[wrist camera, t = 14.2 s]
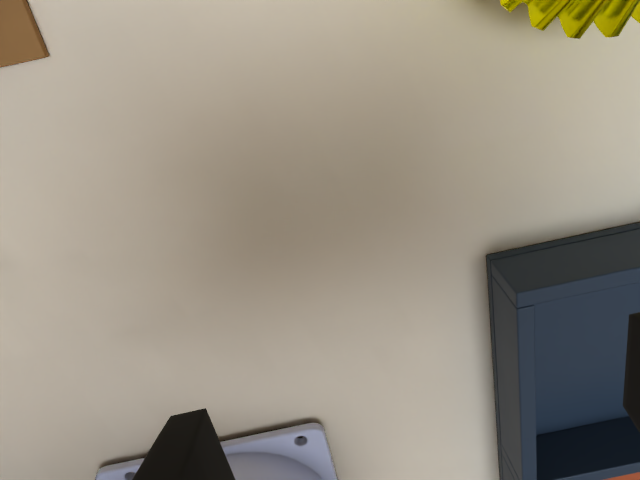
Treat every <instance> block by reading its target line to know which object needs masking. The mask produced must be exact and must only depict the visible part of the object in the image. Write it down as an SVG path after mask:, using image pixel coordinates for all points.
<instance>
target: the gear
mask: <svg viewBox="0 0 640 480" xmlns="http://www.w3.org/2000/svg"><path fill="white" fill-rule="evenodd" d="M522 2H524V3H526V4H527V6H528V12H529V17H530V21H531V25H532V27H535V28H537V29H539V30H542V31H544V30H545V29H546V27H547V26H548V25H549V24H550V23H551V22H552V21H553V20H554V19H555V18H556V17H558V18H559V19H560V23H561V25H562V28H563V30H564V32H565V33H566V35H567V37H570V38H579V39H580V38H581V36H582V35H583V34H584V33H585V31H586V30H587V29H588V27H589V26H590V25H591V23H592V22H593V21H594V23H595V25H596V26H597V28H598V29H599V30H600V31H601V33H602V34H603V35H604V36H605V37H614V36H619V34H620V33H621V31H622V29H623V28H624V26H625V25H626V23H627V21H628V20H629V18H630V16H632V17H633V18H634V19H635V20H636V21H637V22H639V23H640V0H500V3H501V6H503V7H504V8H505V9H506V10H507V11H508V12H511V11H513V10H514V9H515V8H516V7H517V6H518V5H520V4H521V3H522Z"/></svg>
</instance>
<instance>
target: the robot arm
mask: <svg viewBox="0 0 640 480" xmlns="http://www.w3.org/2000/svg"><path fill="white" fill-rule="evenodd" d="M623 407H624V408H625V410H626V412H627V413H628V415H629V417H630V418H631V420H632V421H633V423H634V425H635V426H636V428H637V429H638V431H639V433H640V312H638V313H634V314H629V322H628V336H627V351H626V365H625V379H624V394H623ZM299 436H303V438H297V437H299ZM132 472H134V473H132ZM95 480H338V479H337V475H336V471H335V467H334V464H333V460H332V456H331V452H330V449H329V445H328V441H327V438H326V434H325V430H324V428H323V426H322V425H320V424H318V423H308V424H303V425H298V426H293V427H289V428H284V429H279V430H274V431H269V432H265V433H260V434H255V435H250V436H246V437H241V438H236V439H231V440H227V441H222V442H220V441H219V439H218V436H217V434H216V432H215V429H214V427H213V424H212V422H211V420H210V417H209V415H208V412H207V410H206V408H205V409H201V410H196V411H192V412H187V413H183V414H178V415H174V416H171V417H170V418H169V420H168V421H167V423H166V424H165V426H164V427H163V429H162V431H161V432H160V434H159V435H158V437H157V439H156V440H155V442H154V444H153V445H152V447H151V449H150V450H149V452H148V454H147V456H146V457H145V458H141V459H136V460H132V461H127V462H122V463H117V464H113V465H108V466H104V467H101V468H100V469H99V470H98V472H97V475H96V478H95Z"/></svg>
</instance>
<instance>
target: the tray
mask: <svg viewBox="0 0 640 480" xmlns="http://www.w3.org/2000/svg"><path fill="white" fill-rule="evenodd" d="M487 272H488V289H489V305H490V322H491V338H492V355H493V372H494V388H495V405H496V421H497V438H498V454H499V471H500V480H640V433H639V431H638V429H637V428H636V426H635V425H634V423H633V421H632V420H631V418H630V417H629V415H628V413H627V412H626V410H625V408H624V407H623V394H624V379H625V365H626V351H627V336H628V322H629V314H634V313H638V312H640V222H639V223H635V224H630V225H625V226H621V227H616V228H611V229H607V230H602V231H597V232H593V233H588V234H583V235H579V236H574V237H569V238H564V239H560V240H555V241H550V242H546V243H541V244H536V245H532V246H527V247H522V248H518V249H513V250H508V251H504V252H499V253H494V254H490V255H487Z"/></svg>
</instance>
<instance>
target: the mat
mask: <svg viewBox="0 0 640 480" xmlns="http://www.w3.org/2000/svg"><path fill="white" fill-rule="evenodd" d="M48 56H49V54H48V52H47V50H46V47H45V45H44V42H43V40H42V37H41V35H40V33H39V30H38V28H37V25H36V23H35V20H34V18H33V16H32V13H31V11H30V8H29V6H28V3H27V1H26V0H0V67H5V66H9V65H14V64H18V63H23V62H27V61H32V60H36V59H41V58H45V57H48Z"/></svg>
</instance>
